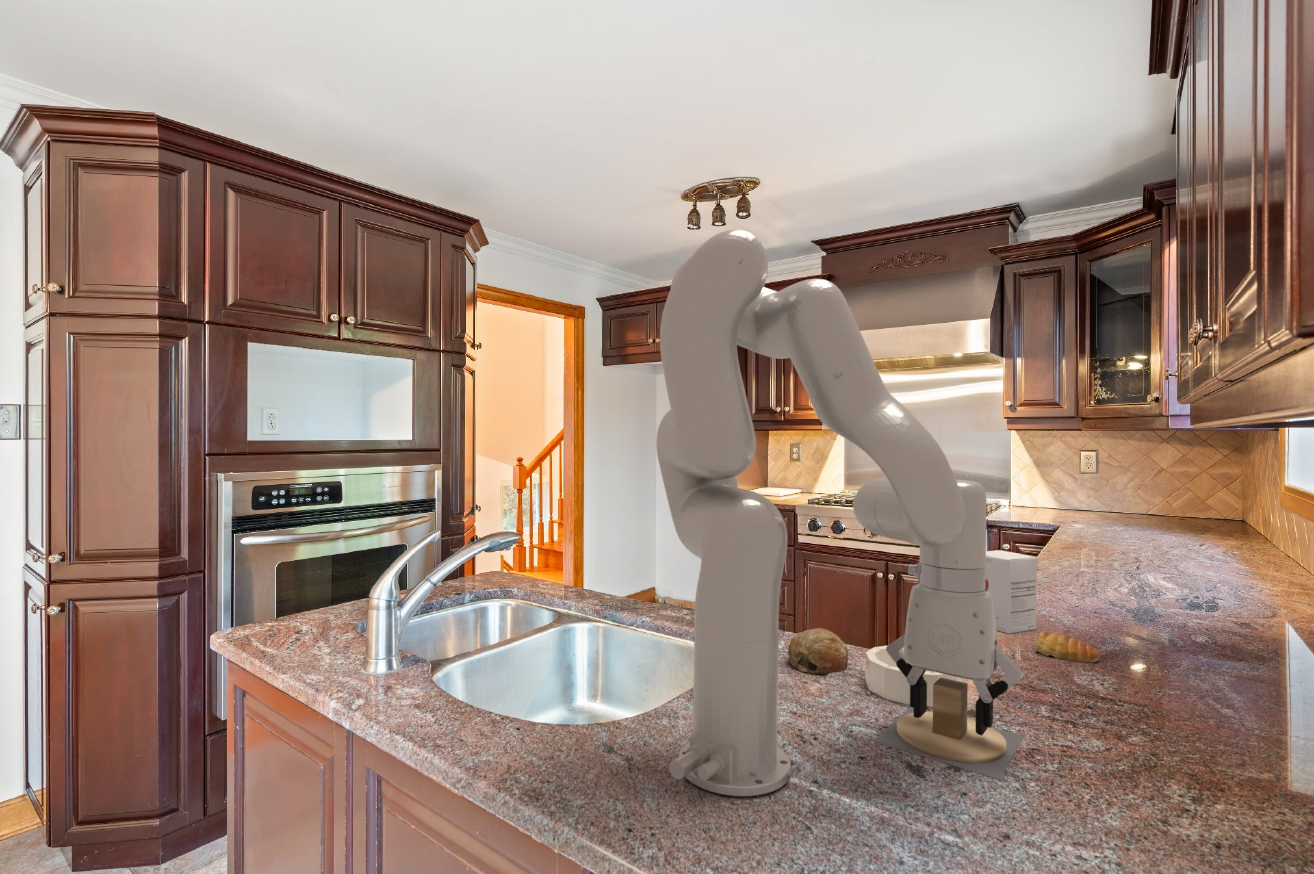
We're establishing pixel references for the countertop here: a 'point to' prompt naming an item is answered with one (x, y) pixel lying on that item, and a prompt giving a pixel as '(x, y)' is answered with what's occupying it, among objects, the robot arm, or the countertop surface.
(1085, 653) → the pastry
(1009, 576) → the supplement box
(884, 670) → the bowl
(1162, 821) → the countertop surface
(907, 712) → the mat
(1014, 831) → the countertop surface
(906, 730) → the lid
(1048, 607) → the countertop surface
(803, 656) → the bread roll
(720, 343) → the robot arm
